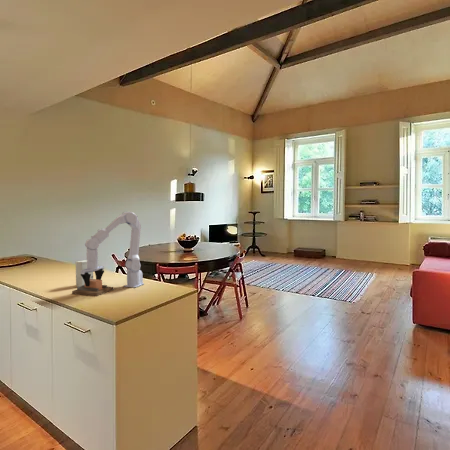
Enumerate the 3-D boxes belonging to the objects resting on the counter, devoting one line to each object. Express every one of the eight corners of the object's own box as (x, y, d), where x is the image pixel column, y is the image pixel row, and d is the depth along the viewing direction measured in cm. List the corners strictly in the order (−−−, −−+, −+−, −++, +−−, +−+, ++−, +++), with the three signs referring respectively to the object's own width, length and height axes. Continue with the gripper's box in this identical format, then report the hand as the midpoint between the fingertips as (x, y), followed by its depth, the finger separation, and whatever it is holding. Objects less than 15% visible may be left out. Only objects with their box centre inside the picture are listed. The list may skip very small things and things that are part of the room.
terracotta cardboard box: (90, 287, 187) (90, 278, 187) (102, 289, 184) (102, 280, 183) (84, 288, 184) (84, 280, 184) (96, 290, 180) (96, 281, 180)
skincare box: (82, 287, 194) (81, 262, 193) (75, 286, 197) (74, 261, 196) (94, 284, 201) (93, 260, 200) (87, 283, 204) (86, 259, 203)
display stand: (90, 287, 193) (89, 282, 193) (113, 289, 188) (113, 284, 188) (72, 293, 180) (72, 288, 179) (96, 296, 175) (96, 290, 175)
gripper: (87, 262, 175) (87, 288, 175) (107, 258, 188) (108, 282, 188) (77, 262, 178) (78, 287, 178) (98, 258, 191) (99, 281, 192)
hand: (93, 284), depth 184 cm, fingers open, 7 cm apart
